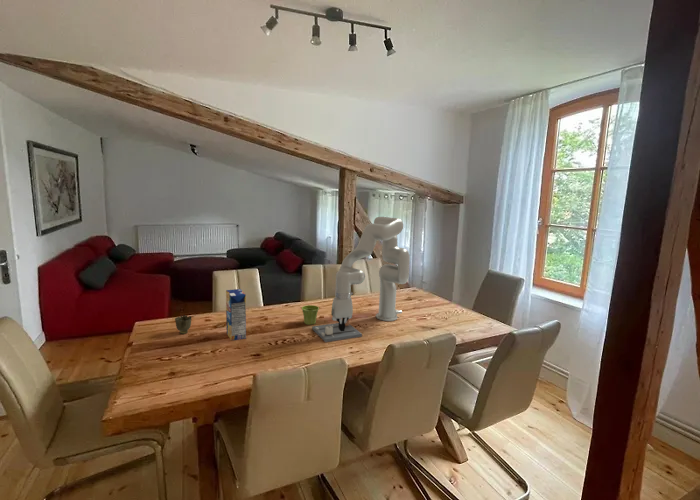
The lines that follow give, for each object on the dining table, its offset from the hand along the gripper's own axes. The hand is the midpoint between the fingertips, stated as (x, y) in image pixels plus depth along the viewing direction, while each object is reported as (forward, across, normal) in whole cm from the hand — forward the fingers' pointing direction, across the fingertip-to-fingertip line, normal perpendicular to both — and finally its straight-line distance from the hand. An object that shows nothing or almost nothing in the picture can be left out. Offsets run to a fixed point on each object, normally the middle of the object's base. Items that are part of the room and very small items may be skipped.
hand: (341, 330), depth 188 cm
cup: (+3, +72, -30) cm, 78 cm away
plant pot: (+3, +9, -22) cm, 24 cm away
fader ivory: (+1, +7, 0) cm, 7 cm away
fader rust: (+1, -6, -8) cm, 10 cm away
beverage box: (+3, +49, -18) cm, 52 cm away
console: (+3, +1, -4) cm, 5 cm away
